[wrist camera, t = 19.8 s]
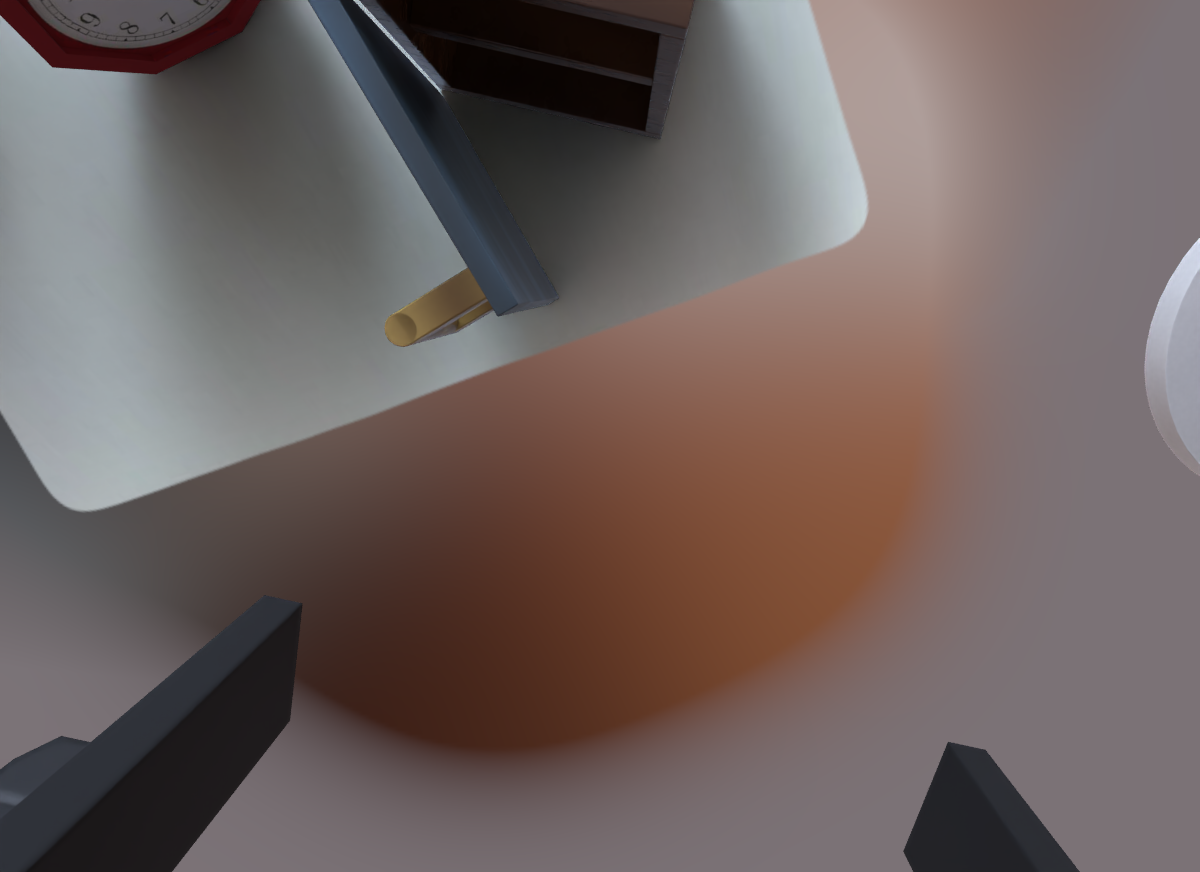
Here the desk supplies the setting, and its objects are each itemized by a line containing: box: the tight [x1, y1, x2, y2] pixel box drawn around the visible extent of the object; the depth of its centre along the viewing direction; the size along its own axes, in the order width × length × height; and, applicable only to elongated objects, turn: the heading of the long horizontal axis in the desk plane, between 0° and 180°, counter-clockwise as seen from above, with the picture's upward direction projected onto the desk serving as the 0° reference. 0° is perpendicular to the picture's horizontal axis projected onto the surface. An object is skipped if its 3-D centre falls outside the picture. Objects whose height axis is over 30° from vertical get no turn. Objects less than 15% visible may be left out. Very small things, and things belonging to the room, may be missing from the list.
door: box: [308, 0, 559, 347], centre depth 32 cm, size 7×14×17 cm, turn 30°
